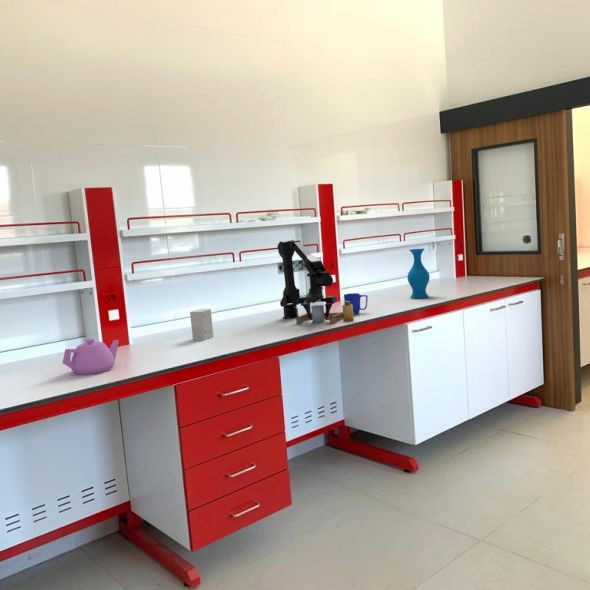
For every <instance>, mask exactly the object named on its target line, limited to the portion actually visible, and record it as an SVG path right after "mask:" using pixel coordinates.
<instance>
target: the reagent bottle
mask: <svg viewBox="0 0 590 590" xmlns="http://www.w3.org/2000/svg"><path fill="white" fill-rule="evenodd" d="M341 309H342V312H343V319H342V321H343V322H353V321H354V320H355V319H354V314H353V305H352V304H350V301H345V300H344V303H343V304H342V305H341Z"/></svg>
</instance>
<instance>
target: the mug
mask: <svg viewBox="0 0 590 590" xmlns="http://www.w3.org/2000/svg"><path fill="white" fill-rule="evenodd" d="M362 297H365V298H366V299H365V306H364V307H363V308H361V298H362ZM368 297H369V296H368V295H367V294H360V293H359V292H356V293H355V292H354V293H345V294H343V299H344V301H350V304H352V305H353V315H356V314H359V313H360V311H365V310H366V309H367V307H368Z"/></svg>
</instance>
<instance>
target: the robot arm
mask: <svg viewBox="0 0 590 590" xmlns="http://www.w3.org/2000/svg"><path fill="white" fill-rule="evenodd" d="M277 251H278V254H279V256H280V257H281V259H282V265H283V266H282V267H283V276H284V277H283V278H284V286H285V287H284V289H283V291H282V298H281V300H280V301H279V304H280V307H282V308H283V309H282V310H283V317H282V319H296V317H299V316H300V315H299V310H298V306H299V305H300V306H302V307H303V309H305V311H306V313H307V314H308V317H309V318H310V317H311V313H312V309H311V304H316V303H324V308H325V313H326V318H327V317H328V315H329V313H331V312H330V311H331V310H332V306H333V305H334V304H335V303H336V302H338V299H337V296H336V295H328V296H326V297H325V296H324V295H323V289H324V287H327V288H328V287H331V286H332V285H333V284H334V278H333V276H332V275H331V274H330V272H329V271H327V269H326V267H325V265H324V263H323V262H322V260H321V259H320V258H319V257H317V256H315V255H313V254H311V253H310V252H309V250H308V248H306V246H304V244H303V243H302V242H301V240H300V239H291V240H283V241H282V240H281V241H279V242H278V244H277ZM295 253H296V254H297V255H298V256H299V258H301V260H302V261H303V262H304V268H305V269H306V271H307V272H308V273H307V274H306V277H309V287H310V288H308V293H307V294H306V295H305V296H301V293H300V292H301V291H300V289H299V288H298V287H296V282H295V274H294V273H295V272H294V264H293V257H294V254H295Z"/></svg>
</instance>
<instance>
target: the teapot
mask: <svg viewBox="0 0 590 590" xmlns="http://www.w3.org/2000/svg"><path fill="white" fill-rule="evenodd" d="M119 342H120V341H119V339H115V340H112V343H111V345H110V347H109V346H107V345H106V343H105V342H104V341H95V338H88V339H85V343H80V344H78V345H77V346H76V348H64V353H63V358H62V364H63V365H65V366H66V367H68V368H69V369H71V371H73V373H74V374H75V375H79V376H88V375H90V376H91V375H96V374H102V373H105V372H107V371H110V370H112V368H113V367H114V365H115V360H116V357H117V351H118V347H119ZM71 356H72V357H71Z"/></svg>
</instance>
